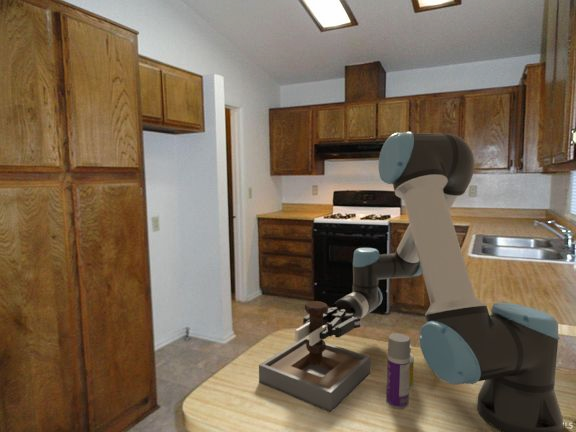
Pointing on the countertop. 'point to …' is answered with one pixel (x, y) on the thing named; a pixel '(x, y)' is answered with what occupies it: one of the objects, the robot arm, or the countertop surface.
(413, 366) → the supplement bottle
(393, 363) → the container
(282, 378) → the open box
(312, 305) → the bolt
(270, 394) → the countertop surface
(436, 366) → the robot arm
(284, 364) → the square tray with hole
